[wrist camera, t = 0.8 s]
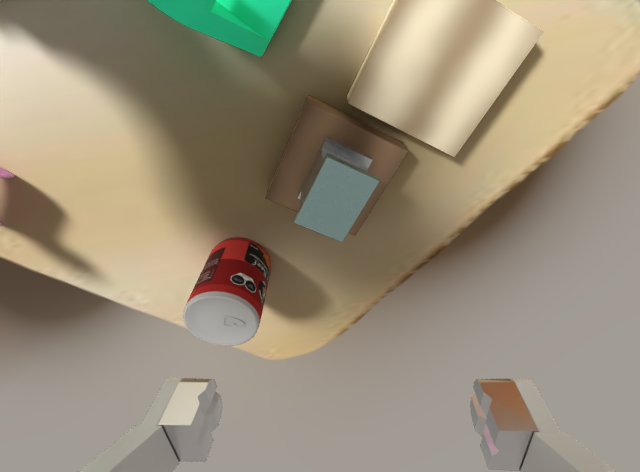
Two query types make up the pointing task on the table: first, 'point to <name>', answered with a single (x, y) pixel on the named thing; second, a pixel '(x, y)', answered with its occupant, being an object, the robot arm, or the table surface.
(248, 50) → the camera mount
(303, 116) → the stand
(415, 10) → the stand
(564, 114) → the table surface
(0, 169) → the toy chair
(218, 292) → the canned food
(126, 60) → the table surface
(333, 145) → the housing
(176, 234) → the table surface
